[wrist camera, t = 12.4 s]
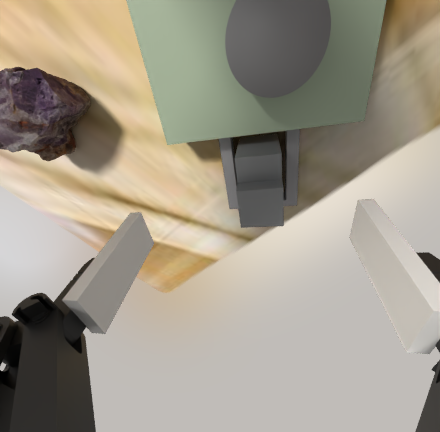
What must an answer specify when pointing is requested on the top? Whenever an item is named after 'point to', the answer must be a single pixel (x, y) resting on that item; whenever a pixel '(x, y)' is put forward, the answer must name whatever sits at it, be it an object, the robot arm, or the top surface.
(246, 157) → the grey notched block
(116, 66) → the top surface
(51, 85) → the rock
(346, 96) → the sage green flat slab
